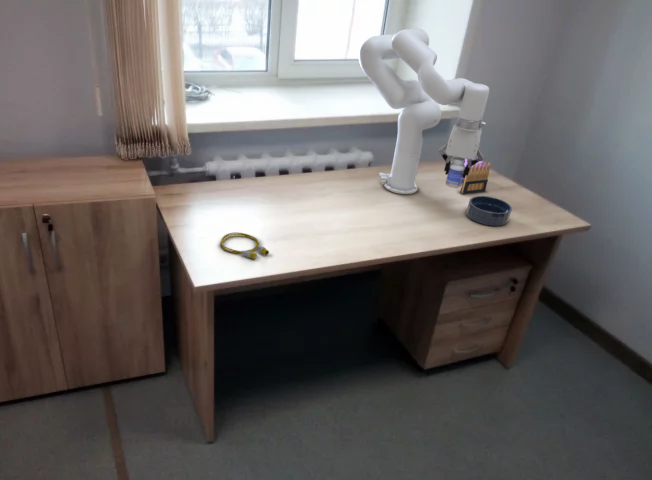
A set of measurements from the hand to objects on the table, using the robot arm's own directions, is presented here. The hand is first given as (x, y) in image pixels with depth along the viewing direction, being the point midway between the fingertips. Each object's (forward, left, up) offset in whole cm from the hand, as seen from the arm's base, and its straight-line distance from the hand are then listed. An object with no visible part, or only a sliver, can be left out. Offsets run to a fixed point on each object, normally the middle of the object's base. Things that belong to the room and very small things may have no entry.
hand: (455, 174), depth 184 cm
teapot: (+3, +31, -13) cm, 34 cm away
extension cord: (-52, -62, -13) cm, 82 cm away
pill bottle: (0, 0, -4) cm, 4 cm away
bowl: (+14, -1, -13) cm, 19 cm away
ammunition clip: (+7, +20, -13) cm, 25 cm away
